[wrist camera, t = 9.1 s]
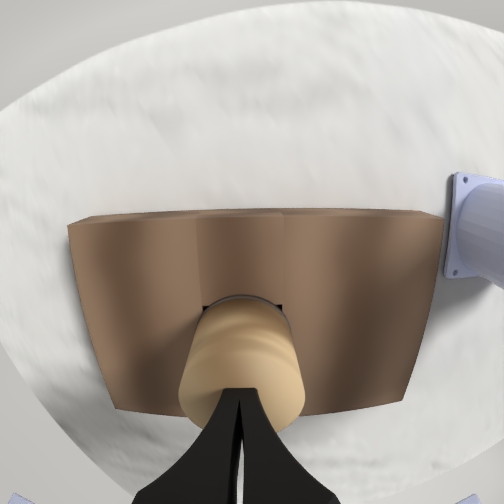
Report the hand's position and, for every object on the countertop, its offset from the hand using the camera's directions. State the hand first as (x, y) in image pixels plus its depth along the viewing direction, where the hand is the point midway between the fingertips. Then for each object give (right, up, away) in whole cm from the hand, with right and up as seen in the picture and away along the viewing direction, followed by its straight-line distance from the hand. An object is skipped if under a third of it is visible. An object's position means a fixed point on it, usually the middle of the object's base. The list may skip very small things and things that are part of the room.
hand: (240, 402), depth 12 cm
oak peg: (0, +2, +8) cm, 8 cm away
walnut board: (+1, +2, +8) cm, 8 cm away
